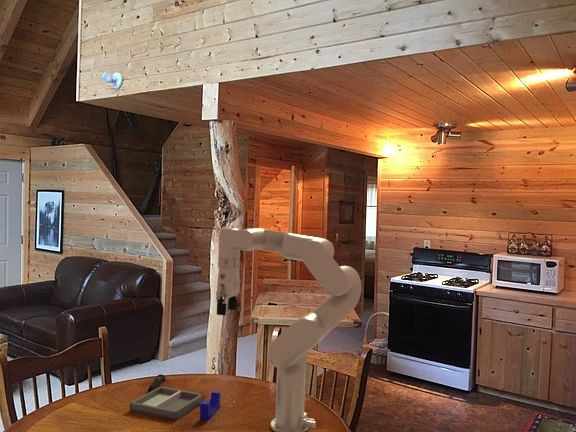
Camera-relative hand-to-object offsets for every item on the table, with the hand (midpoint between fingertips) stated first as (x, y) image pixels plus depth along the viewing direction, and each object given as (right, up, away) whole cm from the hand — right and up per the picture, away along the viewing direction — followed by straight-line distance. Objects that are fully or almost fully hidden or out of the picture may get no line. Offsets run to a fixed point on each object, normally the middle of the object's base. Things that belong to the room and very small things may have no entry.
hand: (226, 312), depth 176 cm
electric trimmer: (-31, -35, +26) cm, 54 cm away
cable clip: (-7, -36, +1) cm, 37 cm away
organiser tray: (-22, -35, +6) cm, 42 cm away
